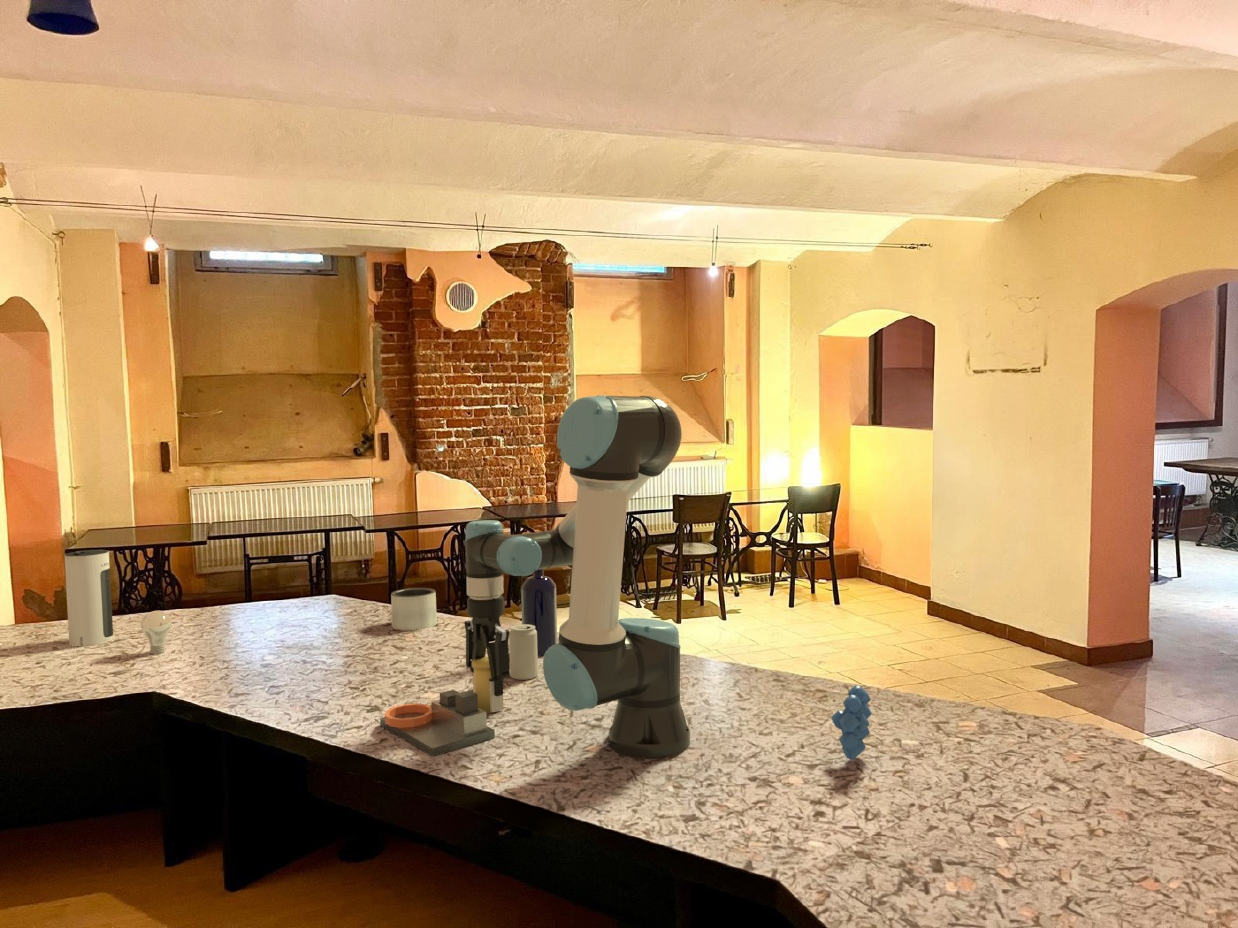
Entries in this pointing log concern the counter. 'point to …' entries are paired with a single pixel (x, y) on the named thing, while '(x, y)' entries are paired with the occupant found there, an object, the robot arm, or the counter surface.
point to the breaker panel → (444, 729)
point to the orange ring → (408, 721)
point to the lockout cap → (482, 682)
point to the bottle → (540, 609)
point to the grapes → (853, 722)
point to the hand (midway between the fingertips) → (488, 706)
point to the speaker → (88, 597)
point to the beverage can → (523, 652)
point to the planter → (413, 608)
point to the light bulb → (156, 630)
